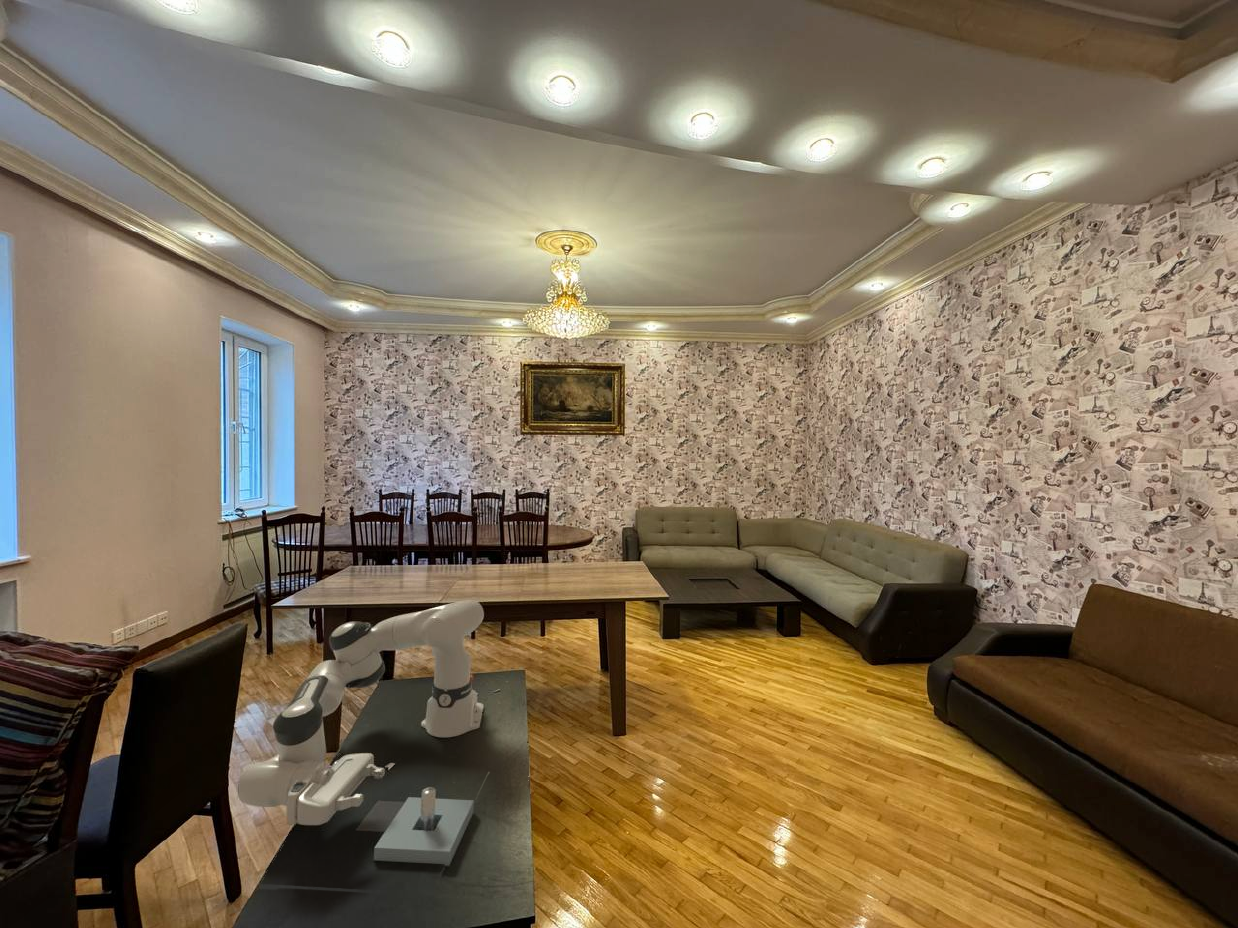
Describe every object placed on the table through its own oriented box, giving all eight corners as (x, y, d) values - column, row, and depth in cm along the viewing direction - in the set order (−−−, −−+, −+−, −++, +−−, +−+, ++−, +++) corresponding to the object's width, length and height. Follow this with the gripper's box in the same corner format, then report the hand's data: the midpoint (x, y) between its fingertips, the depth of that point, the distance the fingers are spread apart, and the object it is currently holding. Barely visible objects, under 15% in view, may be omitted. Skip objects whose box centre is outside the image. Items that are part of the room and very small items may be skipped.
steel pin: (423, 830, 112) (424, 786, 113) (436, 831, 112) (437, 787, 113) (417, 840, 109) (419, 795, 110) (430, 840, 109) (432, 795, 110)
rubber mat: (377, 802, 121) (377, 800, 121) (405, 803, 121) (405, 801, 121) (355, 831, 111) (355, 829, 111) (385, 833, 111) (385, 831, 111)
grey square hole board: (408, 809, 119) (408, 796, 119) (473, 812, 119) (473, 800, 119) (373, 861, 103) (374, 847, 103) (448, 865, 103) (449, 851, 103)
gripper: (339, 770, 122) (394, 771, 122) (281, 830, 102) (347, 832, 102) (340, 744, 122) (394, 746, 122) (282, 800, 102) (348, 802, 102)
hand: (372, 786), depth 112 cm, fingers open, 8 cm apart
